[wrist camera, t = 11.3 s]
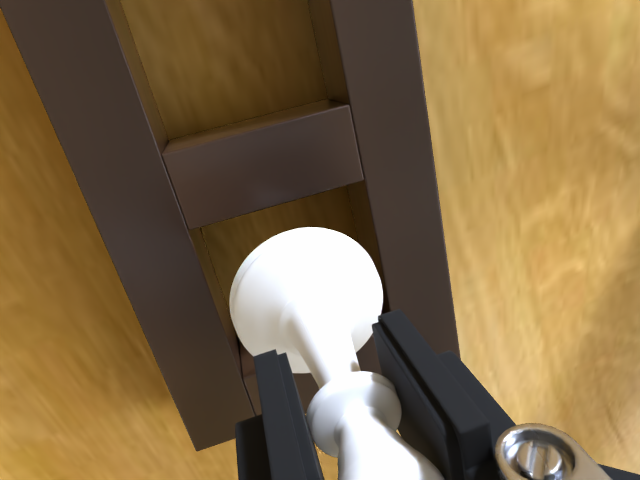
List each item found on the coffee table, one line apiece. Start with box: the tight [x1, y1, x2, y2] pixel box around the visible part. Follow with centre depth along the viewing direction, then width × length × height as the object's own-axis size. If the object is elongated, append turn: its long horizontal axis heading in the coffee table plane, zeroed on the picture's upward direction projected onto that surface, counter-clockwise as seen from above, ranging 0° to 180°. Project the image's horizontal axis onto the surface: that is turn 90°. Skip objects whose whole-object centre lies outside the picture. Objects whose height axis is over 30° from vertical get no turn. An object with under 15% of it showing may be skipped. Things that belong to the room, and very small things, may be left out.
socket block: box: [0, 0, 461, 451], centre depth 16 cm, size 11×19×3 cm, turn 13°
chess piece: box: [229, 227, 445, 480], centre depth 11 cm, size 5×5×10 cm
